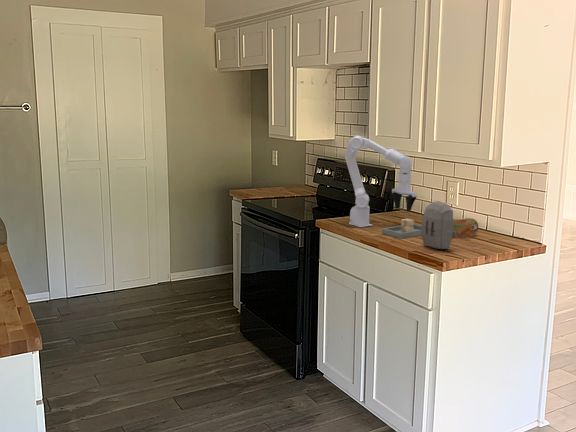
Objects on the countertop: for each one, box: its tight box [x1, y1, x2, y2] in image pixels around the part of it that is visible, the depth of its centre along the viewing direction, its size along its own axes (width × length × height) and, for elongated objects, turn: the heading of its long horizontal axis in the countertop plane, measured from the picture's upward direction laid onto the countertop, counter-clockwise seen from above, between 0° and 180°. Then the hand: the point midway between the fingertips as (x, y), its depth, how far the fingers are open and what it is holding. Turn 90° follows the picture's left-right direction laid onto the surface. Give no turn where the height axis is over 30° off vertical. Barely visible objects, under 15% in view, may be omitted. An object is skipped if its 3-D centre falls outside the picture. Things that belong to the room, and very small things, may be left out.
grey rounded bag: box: [420, 200, 454, 250], centre depth 238 cm, size 15×8×20 cm, turn 30°
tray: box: [381, 223, 422, 240], centre depth 265 cm, size 12×20×2 cm, turn 124°
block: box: [400, 218, 415, 233], centre depth 264 cm, size 4×4×6 cm
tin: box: [452, 217, 479, 238], centre depth 260 cm, size 15×3×8 cm, turn 105°
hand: (403, 209), depth 277 cm, fingers open, 7 cm apart
